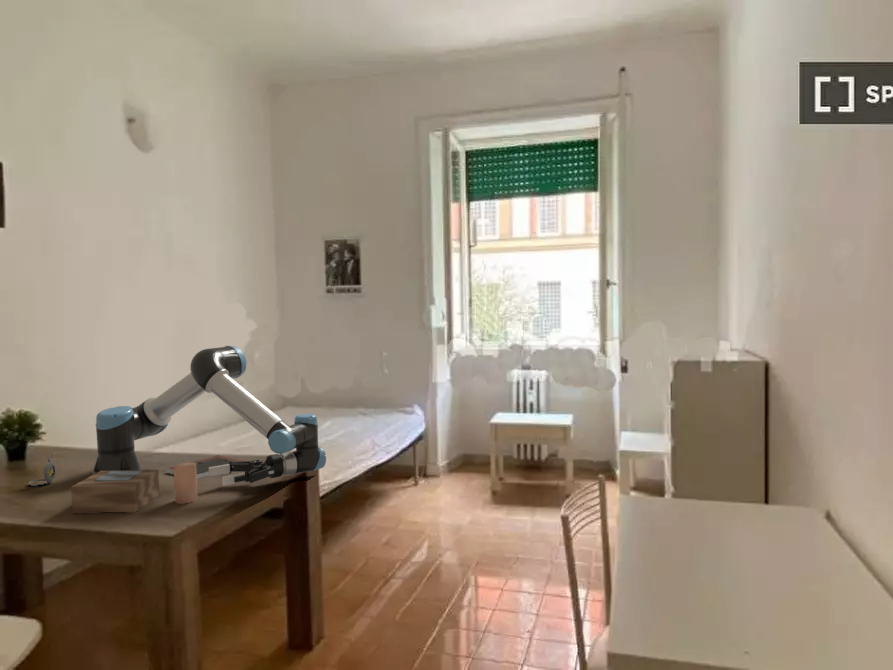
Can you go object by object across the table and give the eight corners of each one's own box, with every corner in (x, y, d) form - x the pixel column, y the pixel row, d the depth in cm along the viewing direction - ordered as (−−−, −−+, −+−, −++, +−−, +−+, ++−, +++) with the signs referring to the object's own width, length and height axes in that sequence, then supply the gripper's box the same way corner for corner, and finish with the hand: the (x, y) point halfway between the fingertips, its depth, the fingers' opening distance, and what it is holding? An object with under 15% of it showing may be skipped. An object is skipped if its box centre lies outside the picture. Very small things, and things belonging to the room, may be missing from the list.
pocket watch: (27, 484, 221) (25, 454, 221) (56, 479, 226) (54, 451, 226) (29, 489, 215) (28, 459, 214) (59, 484, 220) (57, 455, 219)
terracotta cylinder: (179, 497, 203) (178, 462, 202) (200, 497, 203) (199, 462, 202) (171, 504, 197) (170, 468, 196) (193, 503, 197) (191, 467, 196)
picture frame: (195, 481, 223) (246, 466, 241) (195, 474, 223) (246, 460, 241) (166, 474, 232) (218, 461, 250) (166, 467, 232) (217, 454, 250)
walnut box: (102, 495, 206) (100, 469, 206) (159, 494, 207) (158, 468, 206) (72, 513, 189) (71, 485, 189) (135, 512, 190) (134, 484, 189)
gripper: (296, 484, 208) (229, 497, 195) (266, 468, 228) (204, 479, 215) (295, 461, 207) (228, 472, 195) (265, 447, 227) (203, 457, 215)
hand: (215, 476), depth 205 cm, fingers open, 13 cm apart
